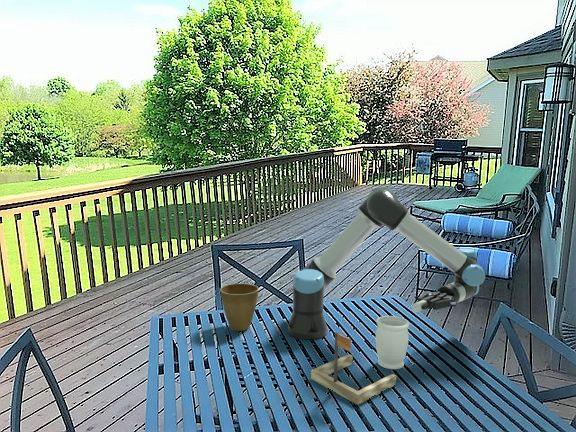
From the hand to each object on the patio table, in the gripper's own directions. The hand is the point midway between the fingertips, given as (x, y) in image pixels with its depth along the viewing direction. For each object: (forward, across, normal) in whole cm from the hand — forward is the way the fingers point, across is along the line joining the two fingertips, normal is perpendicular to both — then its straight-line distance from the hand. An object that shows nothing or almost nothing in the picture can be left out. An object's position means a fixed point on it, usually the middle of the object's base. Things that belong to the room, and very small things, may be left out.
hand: (414, 308), depth 161 cm
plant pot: (+32, +58, -16) cm, 68 cm away
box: (+29, +1, -17) cm, 33 cm away
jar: (+11, +1, -17) cm, 20 cm away
